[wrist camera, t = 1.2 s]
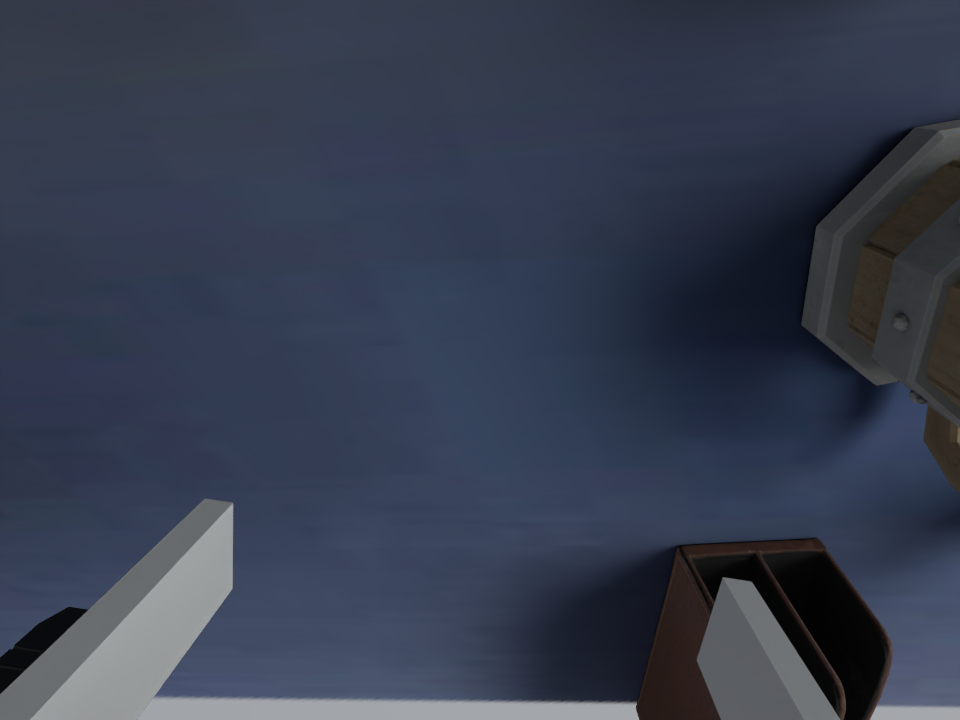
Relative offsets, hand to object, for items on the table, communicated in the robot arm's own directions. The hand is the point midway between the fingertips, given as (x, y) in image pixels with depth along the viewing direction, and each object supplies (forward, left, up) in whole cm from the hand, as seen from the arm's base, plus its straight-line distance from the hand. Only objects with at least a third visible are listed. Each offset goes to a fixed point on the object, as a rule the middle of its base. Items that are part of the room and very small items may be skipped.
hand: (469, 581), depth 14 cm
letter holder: (+29, +14, -15) cm, 36 cm away
